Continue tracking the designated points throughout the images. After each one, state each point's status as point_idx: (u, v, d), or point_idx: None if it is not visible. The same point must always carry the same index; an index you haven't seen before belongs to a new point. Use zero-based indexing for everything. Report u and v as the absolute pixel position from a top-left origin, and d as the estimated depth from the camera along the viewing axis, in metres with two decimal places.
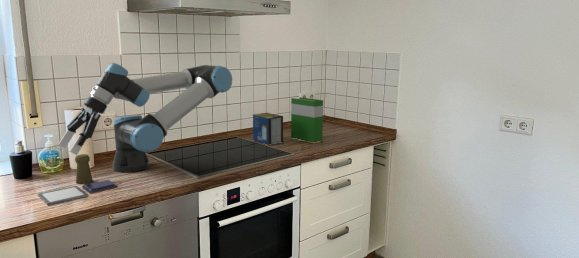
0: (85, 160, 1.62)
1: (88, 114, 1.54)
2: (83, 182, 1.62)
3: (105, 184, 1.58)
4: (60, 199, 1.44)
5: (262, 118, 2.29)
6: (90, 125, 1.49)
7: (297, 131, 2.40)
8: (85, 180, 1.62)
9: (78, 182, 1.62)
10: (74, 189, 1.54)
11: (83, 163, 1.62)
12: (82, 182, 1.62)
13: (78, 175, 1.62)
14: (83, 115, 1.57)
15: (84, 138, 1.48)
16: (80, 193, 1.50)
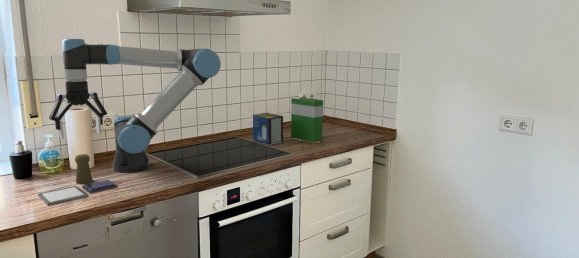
0: (85, 160, 1.62)
1: None
2: (83, 182, 1.62)
3: (105, 184, 1.58)
4: (60, 199, 1.44)
5: (262, 118, 2.29)
6: (53, 108, 1.54)
7: (297, 131, 2.40)
8: (85, 180, 1.62)
9: (78, 182, 1.62)
10: (74, 189, 1.54)
11: (83, 163, 1.62)
12: (82, 182, 1.62)
13: (78, 175, 1.62)
14: None
15: (55, 121, 1.54)
16: (80, 193, 1.50)
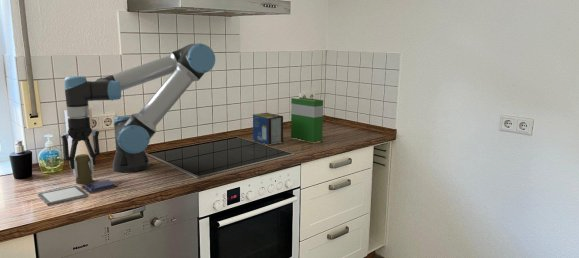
0: (85, 160, 1.62)
1: None
2: (83, 182, 1.62)
3: (105, 184, 1.58)
4: (60, 199, 1.44)
5: (262, 118, 2.29)
6: (63, 149, 1.59)
7: (297, 131, 2.40)
8: (85, 180, 1.62)
9: (78, 182, 1.62)
10: (74, 189, 1.54)
11: (83, 163, 1.62)
12: (82, 182, 1.62)
13: (78, 175, 1.62)
14: None
15: (70, 161, 1.60)
16: (80, 193, 1.50)
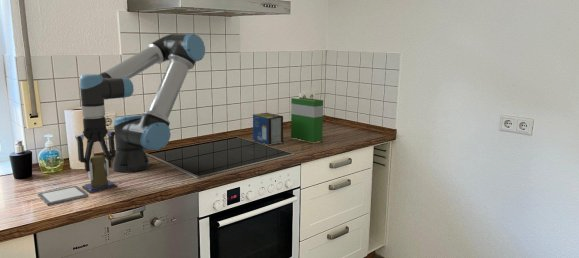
0: (101, 162, 1.55)
1: None
2: (98, 184, 1.55)
3: None
4: (60, 199, 1.44)
5: (262, 118, 2.29)
6: (78, 150, 1.52)
7: (297, 131, 2.40)
8: (100, 183, 1.56)
9: (93, 184, 1.55)
10: (74, 189, 1.54)
11: (98, 165, 1.55)
12: (97, 184, 1.55)
13: (93, 177, 1.55)
14: None
15: (85, 163, 1.53)
16: (80, 193, 1.50)
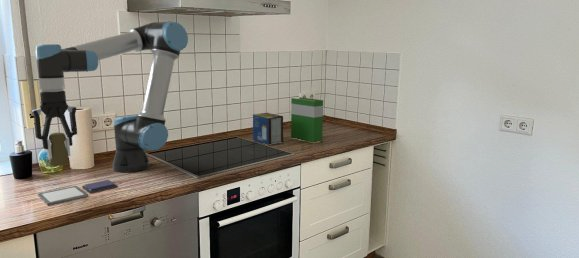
0: (60, 139, 1.44)
1: None
2: (58, 164, 1.44)
3: (105, 184, 1.58)
4: (60, 199, 1.44)
5: (262, 118, 2.29)
6: (35, 126, 1.41)
7: (297, 131, 2.40)
8: (60, 162, 1.44)
9: (52, 164, 1.44)
10: (74, 189, 1.54)
11: (58, 142, 1.44)
12: (57, 163, 1.44)
13: (52, 156, 1.44)
14: None
15: (42, 140, 1.42)
16: (80, 193, 1.50)
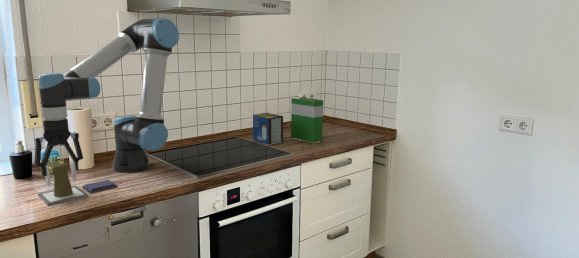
0: (63, 170, 1.46)
1: None
2: (61, 194, 1.47)
3: (105, 184, 1.58)
4: (60, 199, 1.44)
5: (262, 118, 2.29)
6: (35, 153, 1.42)
7: (297, 131, 2.40)
8: (63, 193, 1.47)
9: (56, 195, 1.47)
10: (74, 189, 1.54)
11: (61, 174, 1.46)
12: (60, 195, 1.46)
13: (56, 187, 1.46)
14: None
15: (41, 167, 1.43)
16: (80, 193, 1.50)
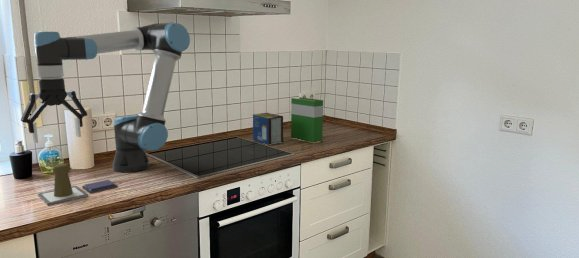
0: (64, 170, 1.46)
1: None
2: (61, 195, 1.47)
3: (105, 184, 1.58)
4: (60, 199, 1.44)
5: (262, 118, 2.29)
6: (25, 109, 1.38)
7: (297, 131, 2.40)
8: (64, 193, 1.47)
9: (56, 195, 1.47)
10: (74, 189, 1.54)
11: (61, 174, 1.46)
12: (60, 195, 1.47)
13: (56, 187, 1.46)
14: None
15: (28, 124, 1.39)
16: (80, 193, 1.50)
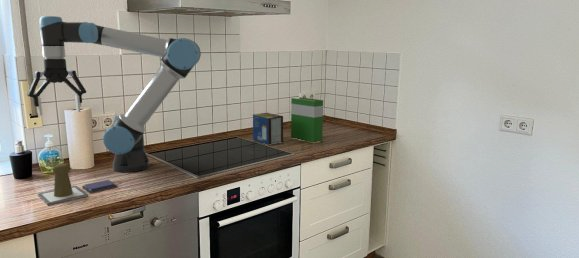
0: (64, 170, 1.46)
1: None
2: (61, 195, 1.47)
3: (105, 184, 1.58)
4: (60, 199, 1.44)
5: (262, 118, 2.29)
6: (31, 85, 1.56)
7: (297, 131, 2.40)
8: (64, 193, 1.47)
9: (56, 195, 1.47)
10: (74, 189, 1.54)
11: (61, 174, 1.46)
12: (60, 195, 1.47)
13: (56, 187, 1.46)
14: None
15: (33, 98, 1.56)
16: (80, 193, 1.50)
